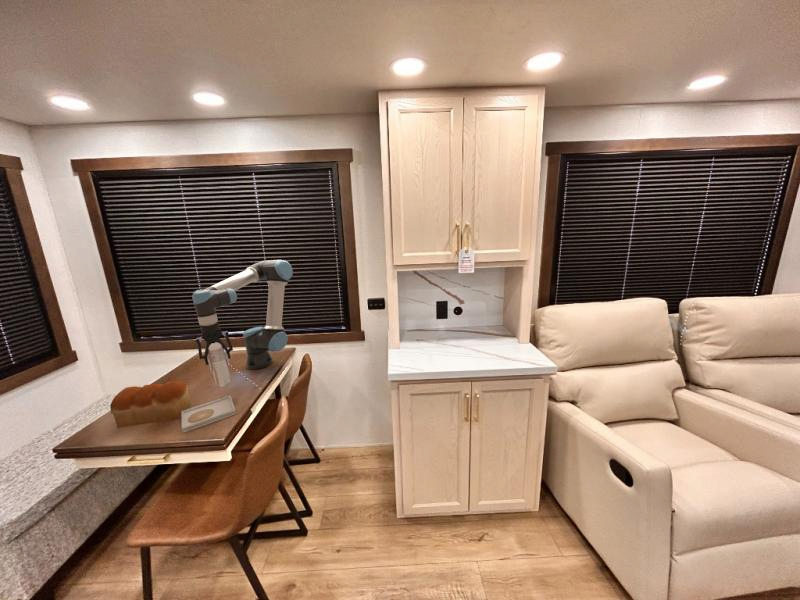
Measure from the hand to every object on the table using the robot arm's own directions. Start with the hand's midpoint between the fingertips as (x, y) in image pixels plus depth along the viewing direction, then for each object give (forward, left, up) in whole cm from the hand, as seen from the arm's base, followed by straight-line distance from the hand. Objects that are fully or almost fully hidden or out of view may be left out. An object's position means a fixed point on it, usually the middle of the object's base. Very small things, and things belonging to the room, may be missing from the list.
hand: (220, 367), depth 148 cm
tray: (+8, +12, -16) cm, 22 cm away
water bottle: (0, 0, -9) cm, 9 cm away
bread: (+28, -5, -16) cm, 33 cm away
